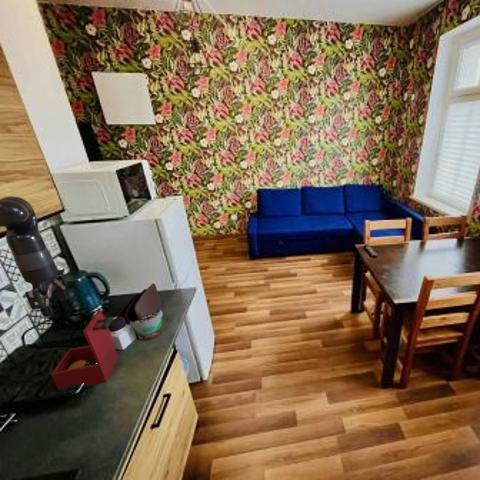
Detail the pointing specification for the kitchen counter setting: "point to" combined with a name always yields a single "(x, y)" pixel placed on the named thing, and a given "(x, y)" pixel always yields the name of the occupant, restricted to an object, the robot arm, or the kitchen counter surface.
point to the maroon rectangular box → (84, 368)
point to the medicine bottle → (121, 333)
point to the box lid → (99, 335)
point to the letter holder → (141, 305)
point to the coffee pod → (78, 364)
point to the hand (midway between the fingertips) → (56, 307)
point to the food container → (148, 326)
